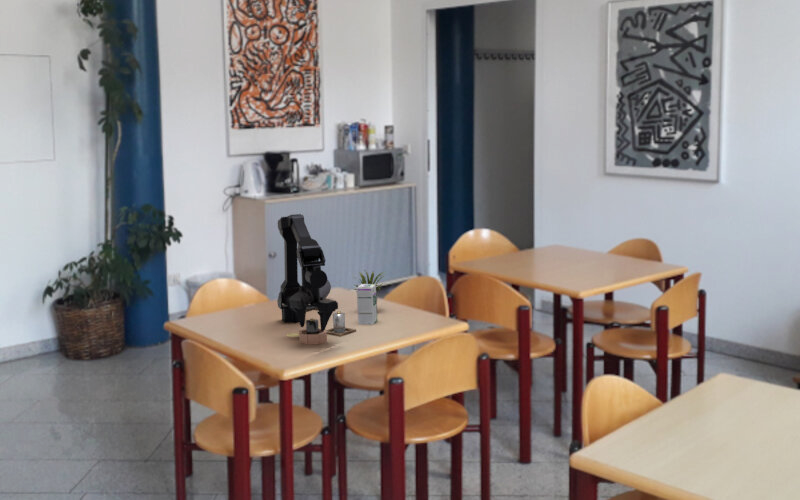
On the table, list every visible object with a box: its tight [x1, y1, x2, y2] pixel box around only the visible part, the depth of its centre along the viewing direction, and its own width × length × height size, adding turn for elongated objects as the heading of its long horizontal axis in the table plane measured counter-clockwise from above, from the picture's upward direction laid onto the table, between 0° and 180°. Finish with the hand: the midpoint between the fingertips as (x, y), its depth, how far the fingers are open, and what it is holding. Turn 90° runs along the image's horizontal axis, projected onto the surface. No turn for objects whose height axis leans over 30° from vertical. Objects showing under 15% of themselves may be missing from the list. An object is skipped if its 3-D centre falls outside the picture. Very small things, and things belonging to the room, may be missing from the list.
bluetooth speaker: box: [306, 279, 332, 310], centre depth 352 cm, size 23×9×10 cm, turn 172°
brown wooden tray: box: [326, 327, 357, 338], centre depth 307 cm, size 8×8×2 cm
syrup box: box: [356, 283, 378, 326], centre depth 319 cm, size 6×6×14 cm
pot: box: [298, 328, 328, 345], centre depth 297 cm, size 9×9×4 cm
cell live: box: [332, 311, 346, 333], centre depth 306 cm, size 4×4×8 cm
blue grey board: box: [286, 325, 321, 338], centre depth 309 cm, size 8×18×2 cm, turn 142°
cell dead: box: [305, 318, 319, 334], centre depth 297 cm, size 4×4×8 cm
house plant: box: [353, 270, 386, 301], centre depth 339 cm, size 14×14×16 cm
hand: (312, 328), depth 297 cm, fingers open, 9 cm apart
